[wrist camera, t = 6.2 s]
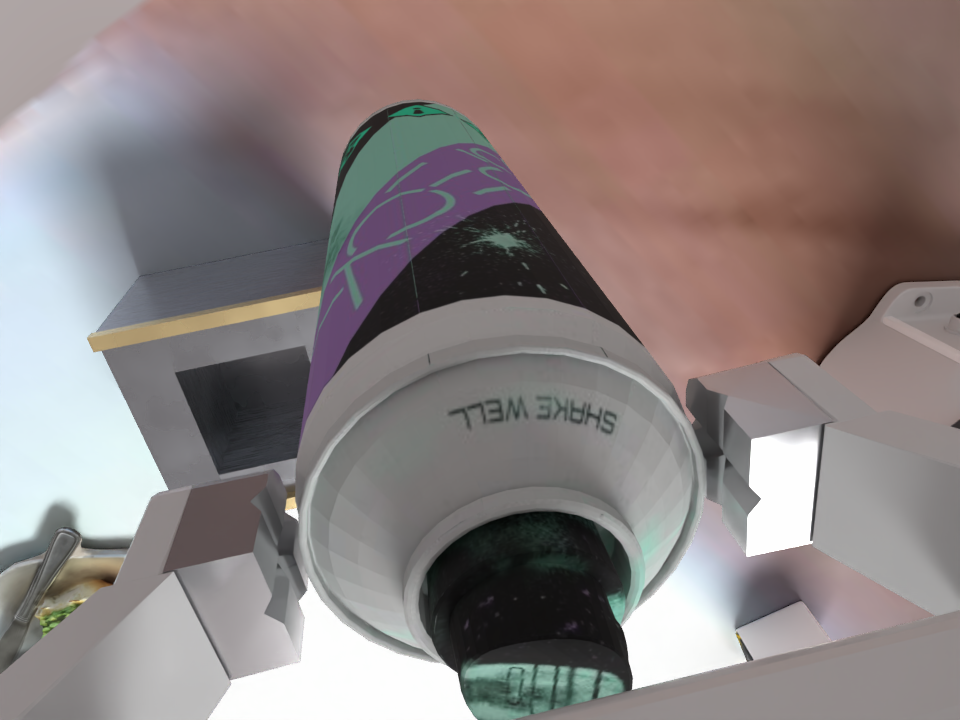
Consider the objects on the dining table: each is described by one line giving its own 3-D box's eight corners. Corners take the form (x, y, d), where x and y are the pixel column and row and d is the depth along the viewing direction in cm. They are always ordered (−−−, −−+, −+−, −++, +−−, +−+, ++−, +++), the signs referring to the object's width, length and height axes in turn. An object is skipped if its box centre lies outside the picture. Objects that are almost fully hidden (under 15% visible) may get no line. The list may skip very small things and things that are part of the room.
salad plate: (-52, 512, 48) (-89, 560, 44) (216, 512, 52) (205, 556, 48) (-1, 696, 57) (-28, 749, 53) (226, 685, 60) (217, 734, 56)
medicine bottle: (733, 628, 67) (802, 746, 56) (801, 598, 66) (884, 711, 56) (749, 669, 70) (818, 787, 60) (815, 640, 70) (895, 755, 59)
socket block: (349, 232, 43) (346, 285, 35) (394, 406, 50) (400, 484, 42) (137, 274, 42) (86, 338, 34) (211, 445, 49) (182, 533, 41)
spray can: (523, 204, 25) (878, 711, 8) (397, 282, 26) (460, 904, 8) (444, 65, 22) (710, 354, 5) (306, 156, 23) (122, 683, 6)
